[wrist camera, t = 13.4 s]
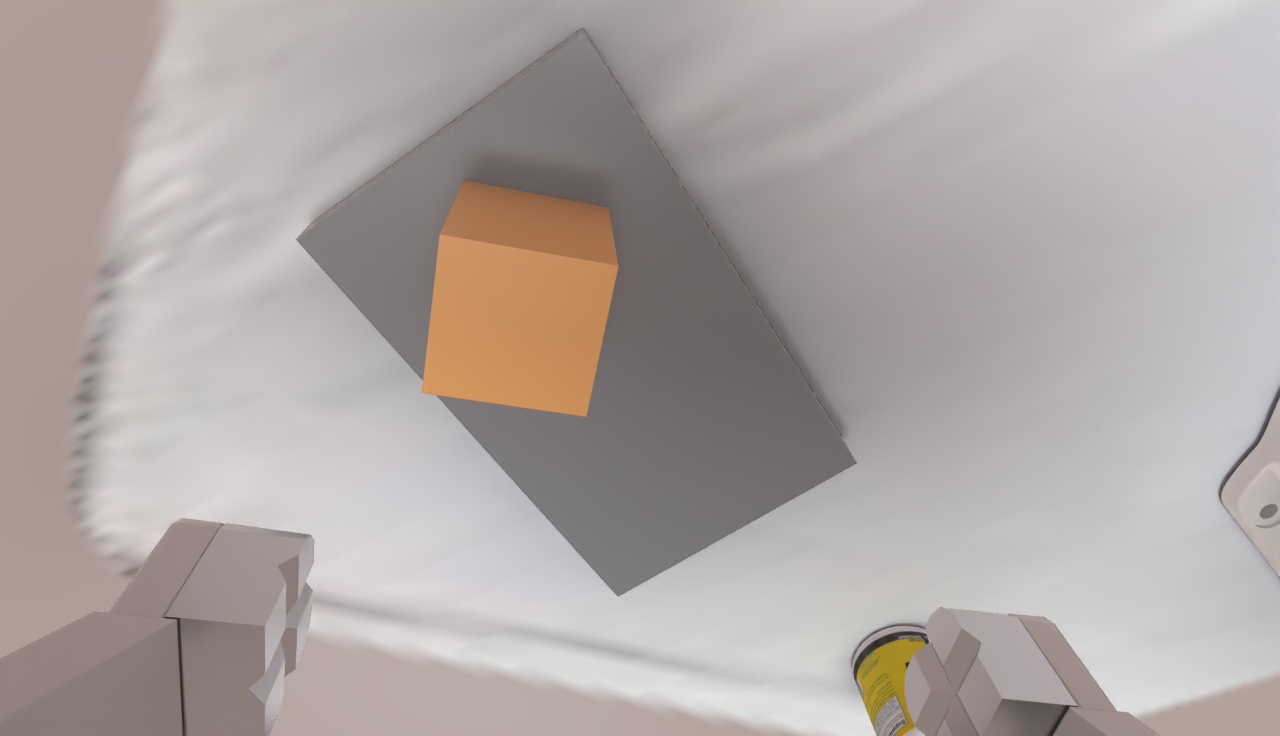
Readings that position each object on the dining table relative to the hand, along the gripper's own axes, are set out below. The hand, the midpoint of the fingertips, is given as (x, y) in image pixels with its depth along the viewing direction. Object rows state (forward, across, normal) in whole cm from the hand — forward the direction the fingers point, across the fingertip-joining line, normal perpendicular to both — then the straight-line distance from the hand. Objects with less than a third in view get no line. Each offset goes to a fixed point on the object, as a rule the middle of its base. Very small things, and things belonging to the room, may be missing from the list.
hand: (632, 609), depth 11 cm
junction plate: (+22, -1, +6) cm, 23 cm away
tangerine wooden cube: (+20, +2, +3) cm, 20 cm away
